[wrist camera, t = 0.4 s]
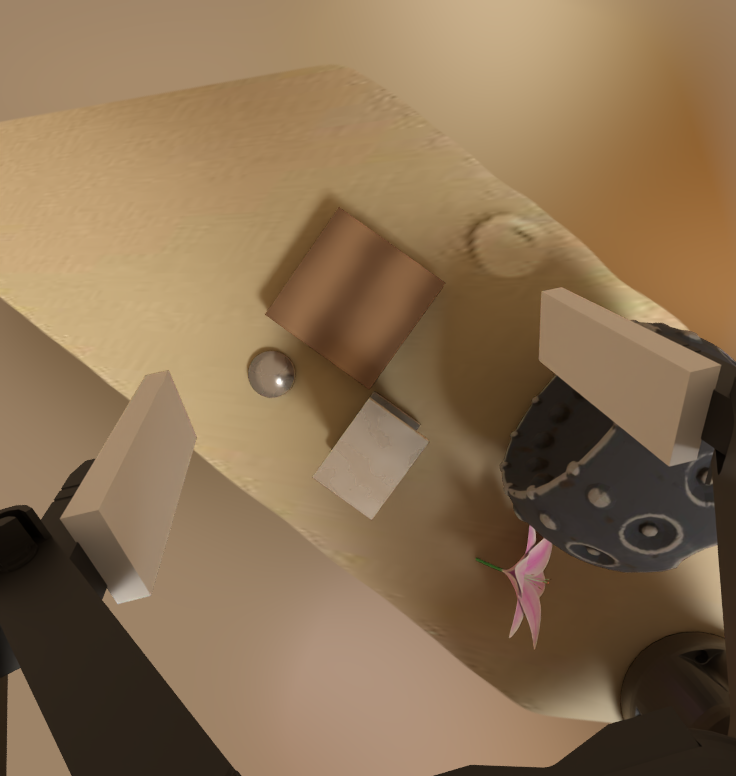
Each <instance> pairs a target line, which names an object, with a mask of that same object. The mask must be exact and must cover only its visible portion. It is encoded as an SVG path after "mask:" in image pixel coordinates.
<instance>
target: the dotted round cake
mask: <svg viewBox="0 0 736 776" xmlns="http://www.w3.org/2000/svg"><path fill="white" fill-rule="evenodd" d="M630 321H632V322H634V323H636V324H638V325H640V326H643V327H645V328H647V329H649V330H651V331H653V332H655V333H659V334H663V335H667V336H671V337H675V338H677V339H679V340H681V341H683V342H685V343H687V344H689V346H694V347H696V348H698V349H700V350H701V352H706V353H708V354H710V355H713V356H715V357H717V358H719V359H721V360H723V361H725V362H727V363H729V364H731V365H734V366H736V361H735V360H734V359H732V358H731V357H730V356H729V355H728V354H726V353H725V352H724V351H723V350H722V349H720V348H719V347H717V346H715V345H714V344H712V343H710V342H708V341H706V340H704V339H702V338H700V337H699V336H698V335H697V334H696V333H694V332H692V331H686V330H679V329H676V328H672V327H669V326H668V325H666V324H664V323H640V322H638V321H636V320H630ZM510 437H511V441H510V443H509V446H508V448H507V451H506V455H505V458H504V462H502V463H501V464H500V471H501V472H502V481H503V485H504V488H503V489H504V493H505V494H506V495H508V496H509V497H510V499H511V501H512V503H513V509H514V512H515V514H516V516H517V517H518V518H519V519H520V520H521V521H524V522H527V523H528V524H529V525H530V526H532V527H533V528H534V529H535V530H536V531H537V532H538V533H539V534H540V535H541V536H542V537H543V538H545V539H546V540H547V541H549V542H551V543H552V544H554V545H555V546H557V547H558V548H560V549H561V550H563V551H565V552H566V553H568V554H569V555H571V556H573V557H575V558H577V559H579V560H582V561H584V562H587V563H590V564H592V565H595V566H599V567H602V568H606V569H610V570H615V571H620V572H659V571H666V570H670V569H674V568H677V566H678V565H679V564H680V563H681V562H682V561H683V560H685V559H686V558H688V557H690V556H691V555H693V554H695V553H697V552H699V551H702V550H704V549H706V548H709V547H712V546H715V545H718V544H717V531H716V519H715V506H714V493H713V480H712V481H711V484H710V485H707V484H705V480H706V477H707V473H708V470H709V466H710V463H711V459H712V456H713V452H714V449H715V448H713V447H712V446H710V445H709V444H707V443H706V442H704V441H703V440H702V441H701V445H700V448H699V452H698V456H697V460H694V461H690V462H686V463H682V464H678V465H674V466H670V467H669V466H668V465H666V464H665V463H664V462H663V461H662V460H660V459H659V458H658V457H657V456H655V455H654V454H653V453H652V452H651V451H649V450H648V449H647V448H646V447H644V446H643V445H642V444H641V443H639V442H638V441H637V440H636V439H635V438H633V437H632V436H631V435H630V434H628V433H627V432H626V431H625V430H624V429H622V428H621V427H620V426H619V425H617V424H616V423H615V422H614V421H612V420H611V419H610V418H609V417H608V416H606V415H605V414H604V413H603V412H601V411H600V410H599V409H598V408H597V407H595V406H594V405H593V404H592V403H590V402H589V401H588V400H587V399H585V398H584V397H583V396H582V395H581V394H579V393H578V392H577V391H576V390H574V389H573V388H572V387H571V386H569V385H568V384H567V383H566V382H565V381H563V380H562V379H561V378H560V377H558V376H557V375H555V376H554V377H553V379H552V380H551V381H550V382H549V383H548V384H547V385H546V387H545V388H544V389H543V390H542V392H541V393H540V394H539V395H538V396H536V397H534V398H533V399H532V405H531V406H530V408H529V409H528V411H527V412H526V414H525V416H524V417H523V419H522V420H521V422H520V424H519V425H518V427H517V429H516V430H515V431H513V432H512V433H511V434H510Z"/></svg>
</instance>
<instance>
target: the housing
mask: <svg viewBox="0 0 736 776" xmlns="http://www.w3.org/2000/svg"><path fill="white" fill-rule="evenodd" d="M419 426H420V423H418V422H417V421H416V420H414V419H413V418H412V417H410V416H409V415H407V414H406V413H405V412H403V411H402V410H400V409H399V408H398V407H396V406H395V405H393V404H392V403H391V402H389V401H388V400H386V399H385V398H384V397H382V396H381V395H380V394H378V393H377V392H375V391H374V392H373V393H372V395H371V396H370V397H369V399H368V400H367V401H366V403H365V404H364V406H363V407H362V408H361V410H360V411H359V413H358V414H357V415H356V417H355V418H354V420H353V421H352V422H351V424H350V425H349V426H348V428H347V429H346V431H345V432H344V433H343V435H342V436H341V438H340V439H339V440H338V442H337V443H336V445H335V446H334V447H333V449H332V450H331V452H330V453H329V454H328V456H327V457H326V459H325V460H324V462H323V463H322V464H321V466H320V467H319V469H318V470H317V471H316V473H315V474H314V475H313V478H314V479H315V480H317V481H318V482H319V483H321V484H322V485H324V486H325V487H326V488H328V489H329V490H330V491H332V492H333V493H335V494H336V495H337V496H339V497H340V498H342V499H343V500H344V501H346V502H347V503H348V504H350V505H351V506H353V507H354V508H355V509H357V510H358V511H360V512H361V513H362V514H364V515H365V516H366V517H368V518H369V519H371V520H372V519H373V518H374V516H375V515H376V513H377V512H378V511H379V509H380V508H381V507H382V505H383V504H384V503H385V501H386V500H387V499H388V497H389V496H390V494H391V493H392V492H393V490H394V489H395V488H396V486H397V485H398V484H399V482H400V481H401V479H402V478H403V477H404V475H405V474H406V473H407V471H408V470H409V469H410V467H411V466H412V465H413V463H414V462H415V460H416V459H417V458H418V456H419V455H420V454H421V452H422V451H423V450H424V448H425V447H426V446H427V444H428V443H429V441H428V439H427V438H426V437H424V436H423V435H422V434H420V433H419V432H417V429H418V428H419Z"/></svg>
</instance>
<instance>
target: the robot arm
mask: <svg viewBox="0 0 736 776" xmlns="http://www.w3.org/2000/svg"><path fill="white" fill-rule="evenodd" d="M539 361H540V362H541V363H542V364H544V365H545V366H546V367H547V368H549V369H550V370H551V371H552V372H554V373H555V374H556V375H557V376H558V377H560V378H561V379H562V380H563V381H565V382H566V383H567V384H568V385H569V386H571V387H572V388H573V389H574V390H576V391H577V392H578V393H579V394H581V395H582V396H583V397H584V398H585V399H587V400H588V401H589V402H590V403H592V404H593V405H594V406H595V407H597V408H598V409H599V410H600V411H601V412H603V413H604V414H605V415H606V416H608V417H609V418H610V419H611V420H612V421H614V422H615V423H616V424H617V425H619V426H620V427H621V428H622V429H624V430H625V431H626V432H627V433H628V434H630V435H631V436H632V437H633V438H635V439H636V440H637V441H638V442H639V443H641V444H642V445H643V446H644V447H646V448H647V449H648V450H649V451H651V452H652V453H653V454H654V455H655V456H657V457H658V458H659V459H660V460H662V461H663V462H664V463H665V464H666V465H668V466H669V467H670V466H674V465H678V464H682V463H686V462H690V461H694V460H697V456H698V452H699V448H700V445H701V441H702V440H703V441H704V442H706V443H707V444H709V445H710V446H712V447H713V448H715V449H714V452H713V456H712V459H711V463H710V466H709V470H708V473H707V477H706V480H705V484H707V485H710V484H711V481H712V480H713V493H714V506H715V519H716V531H717V544H718V557H719V570H720V583H721V595H722V608H723V621H724V634H725V638H722V637H719V636H716V635H713V634H708V633H701V632H686V633H679V634H675V635H671V636H668V637H665V638H663V639H661V640H659V641H657V642H655V643H653V644H652V645H650V646H649V647H647V648H646V649H645V650H644V651H643V652H642V653H641V654H640V655H639V656H638V657H637V658H636V659H635V660H634V662H633V663H632V665H631V666H630V668H629V670H628V672H627V674H626V676H625V679H624V682H623V686H622V691H621V709H622V715H623V718H624V720H622V721H619V722H615V723H612V724H608V725H607V726H606V727H604V728H603V729H602V730H600V731H599V732H598V733H596V734H595V735H594V736H592V737H591V738H590V739H588V740H587V741H586V742H584V743H583V744H582V745H580V746H579V747H578V748H576V749H575V750H574V751H572V752H571V753H570V754H568V755H567V756H566V757H564V758H563V759H562V760H560V761H559V762H558V763H556V764H555V765H553V766H550V767H545V768H537V767H511V766H484V765H469V766H465V767H462V768H458V769H455V770H452V771H448V772H445V773H442V774H438V775H435V776H736V366H734V365H731V364H729V363H727V362H725V361H723V360H721V359H719V358H717V357H715V356H713V355H710V354H708V353H706V352H701V350H700V349H698V348H696V347H694V346H689V344H687V343H685V342H683V341H681V340H679V339H677V338H675V337H671V336H667V335H663V334H659V333H655V332H653V331H651V330H649V329H647V328H645V327H643V326H640V325H638V324H636V323H634V322H632V321H630V320H628V319H626V318H624V317H622V316H620V315H618V314H616V313H614V312H612V311H610V310H608V309H606V308H604V307H601V306H599V305H597V304H595V303H593V302H591V301H589V300H587V299H585V298H583V297H581V296H579V295H577V294H575V293H573V292H571V291H569V290H567V289H565V288H563V287H559V288H555V289H550V290H545V291H541V313H540V340H539ZM196 439H197V436H196V434H195V431H194V429H193V426H192V424H191V422H190V419H189V417H188V415H187V412H186V410H185V407H184V405H183V403H182V400H181V398H180V396H179V393H178V391H177V388H176V386H175V384H174V381H173V379H172V377H171V374H170V372H169V370H167V371H163V372H158V373H153V374H149V375H145V377H144V379H143V380H142V382H141V384H140V385H139V387H138V389H137V390H136V392H135V394H134V395H133V397H132V399H131V400H130V402H129V404H128V406H127V407H126V409H125V411H124V412H123V414H122V416H121V417H120V419H119V420H118V422H117V424H116V426H115V428H114V429H113V431H112V432H111V434H110V436H109V437H108V439H107V441H106V443H105V444H104V446H103V447H102V449H101V451H100V452H99V454H98V456H97V457H96V459H92V460H87V461H85V462H84V463H83V464H82V465H80V466H79V467H78V468H77V469H76V470H75V471H74V472H73V473H71V474H70V476H69V477H68V479H67V480H66V482H65V483H64V485H63V487H62V488H61V489H62V491H59V493H58V495H57V496H56V497H55V499H54V502H53V503H52V504H51V505H50V507H49V508H48V510H47V511H46V513H45V514H44V516H43V518H42V519H41V520H40V519H39V517H38V516H37V514H36V513H35V512H34V510H33V509H32V508H30V507H28V506H27V505H18V506H12V507H9V508H5V509H2V510H0V776H6V760H7V759H6V758H7V756H6V755H7V754H6V753H7V689H8V688H7V686H8V674H9V673H11V672H13V671H15V670H17V669H19V668H21V670H22V672H23V674H24V676H25V678H26V680H27V682H28V684H29V687H30V689H31V691H32V693H33V695H34V697H35V699H36V701H37V703H38V706H39V707H40V710H41V712H42V714H43V716H44V718H45V720H46V722H47V724H48V727H49V729H50V731H51V733H52V735H53V737H54V739H55V741H56V743H57V746H58V748H59V750H60V752H61V754H62V756H63V758H64V760H65V763H66V765H67V767H68V769H69V771H70V773H71V775H72V776H241V775H240V773H239V772H238V771H236V770H235V769H234V768H233V767H232V765H231V764H230V763H229V762H228V760H227V759H226V758H225V757H224V755H223V754H222V753H221V752H220V750H219V749H218V748H217V747H216V745H215V744H214V743H213V741H212V740H211V739H210V738H209V736H208V735H207V734H206V732H205V731H204V730H203V729H202V727H201V726H200V725H199V723H198V722H197V721H196V720H195V718H194V717H193V716H192V714H191V713H190V712H189V711H188V710H187V708H186V707H185V706H184V704H183V703H182V702H181V700H180V699H179V698H178V697H177V695H176V694H175V693H174V691H173V690H172V689H171V688H170V686H169V685H168V684H167V683H166V681H165V680H164V679H163V677H162V676H161V675H160V674H159V672H158V671H157V670H156V668H155V667H154V666H153V665H152V663H151V662H150V661H149V660H148V659H147V657H146V656H145V654H144V653H143V652H142V651H141V649H140V648H139V647H138V645H137V644H136V643H135V642H134V640H133V639H132V638H131V636H130V635H129V634H128V633H127V631H126V630H125V629H124V628H123V626H122V625H121V624H120V622H119V621H118V620H117V619H116V617H115V616H114V615H113V613H112V612H111V611H110V610H109V608H108V607H107V606H106V605H105V603H104V602H103V601H102V599H103V596H104V594H105V591H106V589H108V590H109V592H110V593H111V595H112V596H113V598H114V599H115V601H116V602H117V603H118V604H119V603H123V602H128V601H131V600H136V599H140V598H144V597H148V596H151V594H152V590H153V587H154V584H155V580H156V577H157V574H158V570H159V567H160V563H161V560H162V556H163V552H164V549H165V546H166V542H167V539H168V535H169V532H170V529H171V525H172V522H173V518H174V515H175V511H176V508H177V504H178V501H179V497H180V494H181V490H182V487H183V483H184V480H185V476H186V473H187V469H188V466H189V463H190V459H191V456H192V452H193V449H194V445H195V442H196Z"/></svg>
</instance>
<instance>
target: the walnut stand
mask: <svg viewBox="0 0 736 776" xmlns="http://www.w3.org/2000/svg"><path fill="white" fill-rule="evenodd" d="M444 285H445V282H444V281H442V280H441V279H439V278H438V277H437V276H435V275H434V274H432V273H431V272H430V271H428V270H427V269H425V268H424V267H422V266H421V265H420V264H418V263H417V262H415V261H414V260H413V259H411V258H410V257H408V256H407V255H406V254H404V253H403V252H401V251H400V250H399V249H397V248H396V247H394V246H393V245H392V244H390V243H389V242H387V241H386V240H385V239H383V238H382V237H380V236H379V235H378V234H376V233H375V232H373V231H372V230H371V229H369V228H368V227H366V226H365V225H364V224H362V223H361V222H359V221H358V220H357V219H355V218H354V217H352V216H351V215H350V214H348V213H347V212H345V211H344V210H343V209H341V208H340V207H339V208H338V209H337V211H336V212H335V214H334V215H333V216H332V218H331V219H330V221H329V222H328V224H327V225H326V227H325V228H324V229H323V231H322V232H321V234H320V235H319V237H318V238H317V240H316V241H315V243H314V244H313V245H312V247H311V248H310V250H309V251H308V253H307V254H306V256H305V257H304V259H303V260H302V261H301V263H300V264H299V266H298V267H297V269H296V270H295V272H294V273H293V274H292V276H291V277H290V279H289V280H288V282H287V283H286V285H285V286H284V288H283V289H282V290H281V292H280V293H279V295H278V296H277V298H276V299H275V301H274V302H273V304H272V305H271V306H270V308H269V309H268V311H267V312H266V314H265V315H266V316H268V317H269V318H270V319H272V320H273V321H275V322H276V323H277V324H279V325H280V326H282V327H283V328H284V329H286V330H287V331H289V332H290V333H291V334H293V335H294V336H296V337H297V338H298V339H300V340H301V341H302V342H304V343H305V344H307V345H308V346H309V347H311V348H312V349H314V350H315V351H316V352H318V353H319V354H321V355H322V356H323V357H325V358H326V359H328V360H329V361H330V362H332V363H333V364H334V365H336V366H337V367H339V368H340V369H341V370H343V371H344V372H346V373H347V374H348V375H350V376H351V377H353V378H354V379H355V380H357V381H358V382H360V383H361V384H362V385H364V386H365V387H366V388H368V389H370V388H371V387H372V385H373V384H374V382H375V381H376V380H377V378H378V377H379V375H380V374H381V373H382V371H383V370H384V368H385V367H386V366H387V364H388V363H389V361H390V360H391V359H392V357H393V356H394V355H395V353H396V352H397V350H398V349H399V348H400V346H401V345H402V343H403V342H404V341H405V339H406V338H407V336H408V335H409V334H410V332H411V331H412V329H413V328H414V327H415V325H416V324H417V322H418V321H419V320H420V318H421V317H422V316H423V314H424V313H425V311H426V310H427V309H428V307H429V306H430V304H431V303H432V302H433V300H434V299H435V297H436V296H437V295H438V293H439V292H440V290H441V289H442V288H443V286H444Z"/></svg>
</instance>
